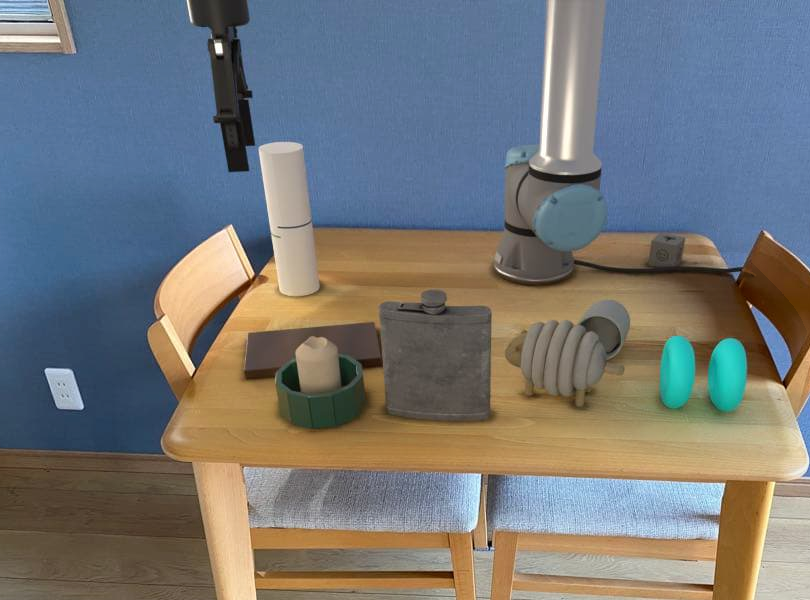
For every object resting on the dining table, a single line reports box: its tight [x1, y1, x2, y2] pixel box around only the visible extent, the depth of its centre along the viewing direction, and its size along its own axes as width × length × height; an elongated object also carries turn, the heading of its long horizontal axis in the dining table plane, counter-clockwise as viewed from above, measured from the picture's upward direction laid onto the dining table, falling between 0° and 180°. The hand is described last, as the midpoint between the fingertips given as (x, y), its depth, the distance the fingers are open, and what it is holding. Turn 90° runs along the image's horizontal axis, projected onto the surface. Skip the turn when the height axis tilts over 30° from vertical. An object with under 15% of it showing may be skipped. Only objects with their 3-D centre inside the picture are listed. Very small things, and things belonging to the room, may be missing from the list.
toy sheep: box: [504, 319, 625, 408], centre depth 104 cm, size 11×17×11 cm, turn 72°
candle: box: [295, 336, 342, 394], centre depth 102 cm, size 6×6×10 cm
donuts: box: [659, 335, 748, 413], centre depth 103 cm, size 10×10×10 cm
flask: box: [378, 288, 493, 422], centre depth 98 cm, size 4×14×18 cm, turn 84°
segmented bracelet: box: [274, 354, 367, 430], centre depth 104 cm, size 12×12×5 cm
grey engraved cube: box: [647, 232, 686, 268], centre depth 146 cm, size 5×5×5 cm
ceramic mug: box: [573, 299, 631, 361], centre depth 117 cm, size 11×8×8 cm
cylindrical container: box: [258, 141, 321, 297], centre depth 130 cm, size 7×7×25 cm
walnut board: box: [243, 321, 383, 380], centre depth 117 cm, size 20×12×2 cm, turn 101°
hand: (242, 157), depth 109 cm, fingers open, 13 cm apart
